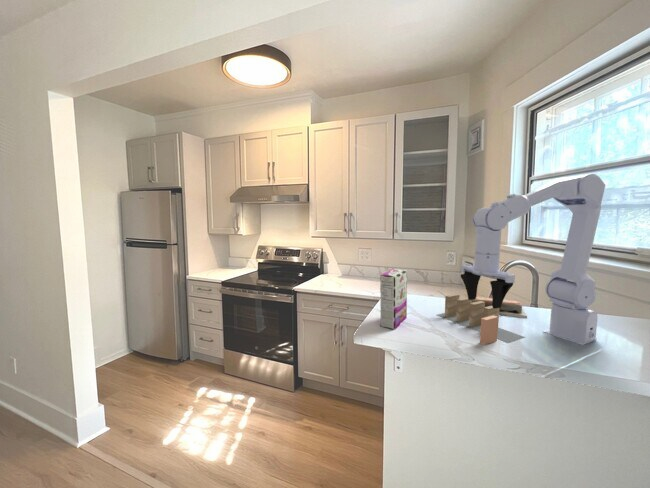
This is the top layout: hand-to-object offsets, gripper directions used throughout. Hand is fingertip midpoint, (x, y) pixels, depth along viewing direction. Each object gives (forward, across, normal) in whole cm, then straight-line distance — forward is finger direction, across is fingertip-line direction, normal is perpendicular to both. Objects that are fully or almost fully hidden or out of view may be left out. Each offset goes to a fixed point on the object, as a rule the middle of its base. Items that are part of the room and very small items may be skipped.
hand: (483, 303), depth 78 cm
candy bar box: (+11, -20, -15) cm, 27 cm away
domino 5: (+10, +2, 0) cm, 11 cm away
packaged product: (+11, -16, +25) cm, 31 cm away
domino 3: (+10, -8, +7) cm, 14 cm away
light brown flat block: (+10, -3, +8) cm, 13 cm away
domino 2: (+10, -12, +7) cm, 17 cm away
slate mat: (+10, -8, +7) cm, 15 cm away
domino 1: (+10, -17, +6) cm, 20 cm away
